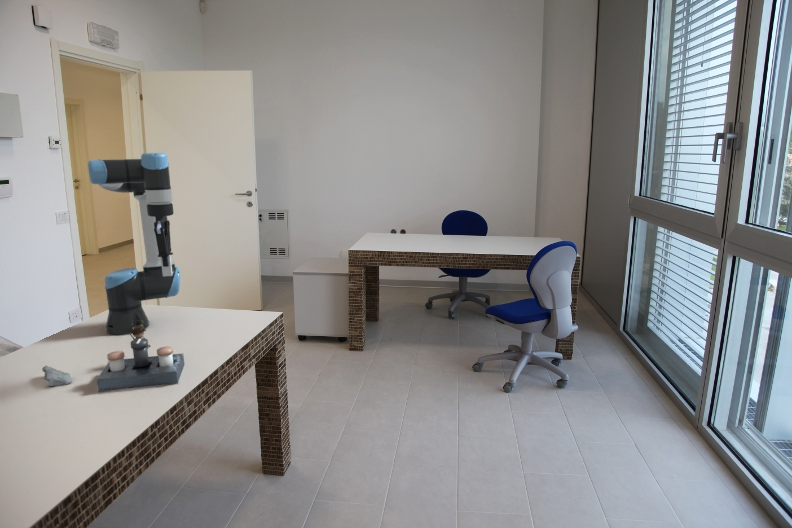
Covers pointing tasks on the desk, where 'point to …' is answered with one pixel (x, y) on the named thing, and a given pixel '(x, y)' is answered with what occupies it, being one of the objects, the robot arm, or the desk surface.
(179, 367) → the mount
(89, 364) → the desk surface
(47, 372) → the mineral specimen
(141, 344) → the dial
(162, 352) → the knob
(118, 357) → the knob
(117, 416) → the desk surface
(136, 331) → the toy
